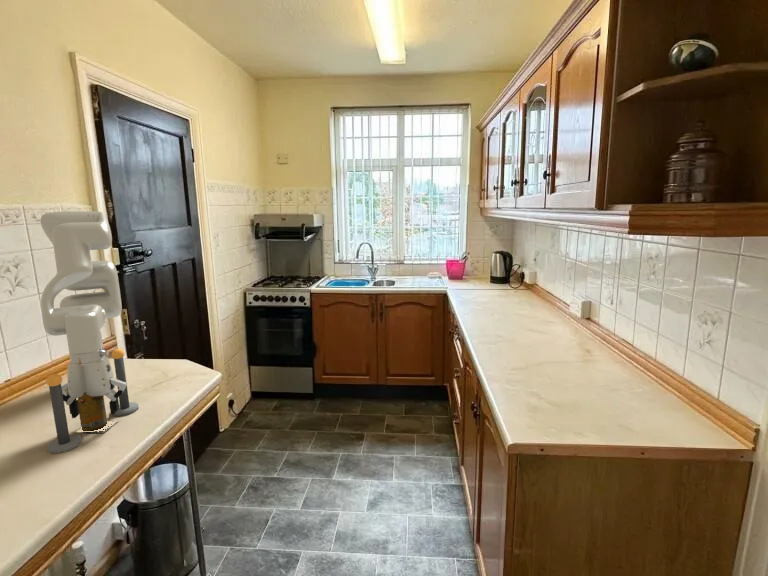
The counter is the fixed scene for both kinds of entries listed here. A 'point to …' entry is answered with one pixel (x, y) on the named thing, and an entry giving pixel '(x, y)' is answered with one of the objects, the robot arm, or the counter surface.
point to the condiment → (92, 413)
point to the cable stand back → (125, 405)
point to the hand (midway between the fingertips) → (95, 414)
